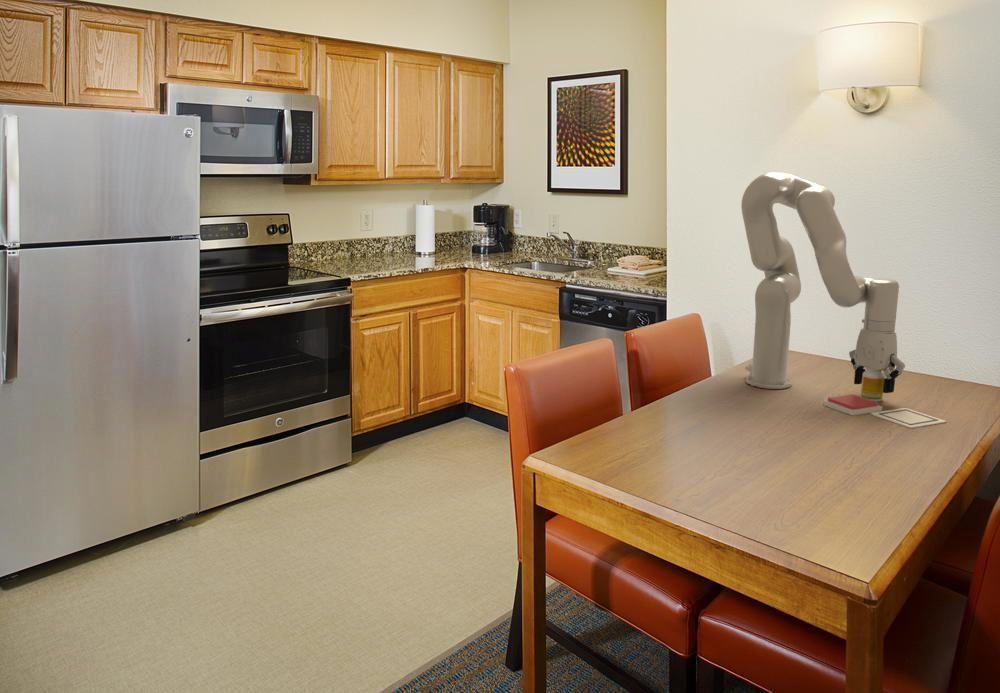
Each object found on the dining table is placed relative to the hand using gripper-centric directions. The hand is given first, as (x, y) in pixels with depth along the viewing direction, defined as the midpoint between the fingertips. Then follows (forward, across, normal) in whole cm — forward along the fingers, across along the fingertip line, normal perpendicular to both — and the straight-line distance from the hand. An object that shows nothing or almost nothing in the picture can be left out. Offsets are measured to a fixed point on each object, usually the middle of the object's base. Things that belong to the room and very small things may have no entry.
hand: (873, 388), depth 209 cm
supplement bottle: (+3, 0, 0) cm, 3 cm away
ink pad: (+3, +4, -11) cm, 12 cm away
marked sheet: (+3, +16, -5) cm, 17 cm away
